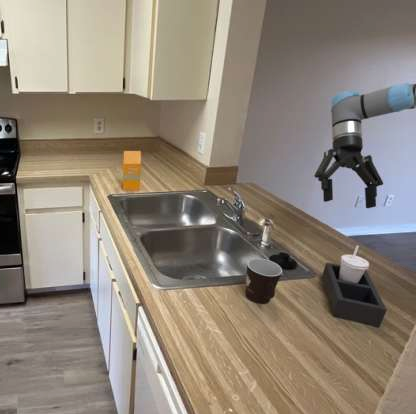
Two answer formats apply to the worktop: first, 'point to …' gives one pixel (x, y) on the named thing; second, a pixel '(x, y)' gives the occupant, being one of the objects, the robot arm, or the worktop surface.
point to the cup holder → (353, 297)
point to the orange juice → (131, 170)
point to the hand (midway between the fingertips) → (349, 204)
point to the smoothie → (352, 267)
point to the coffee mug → (261, 280)
